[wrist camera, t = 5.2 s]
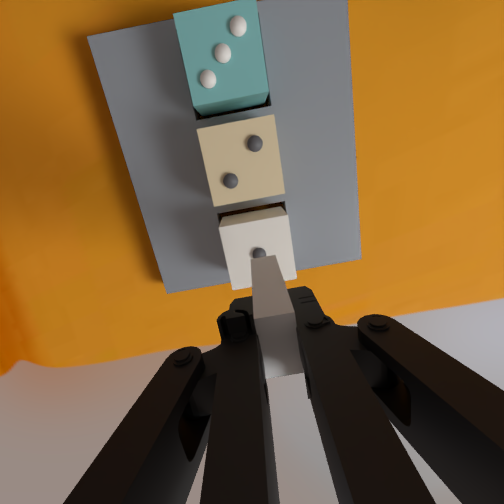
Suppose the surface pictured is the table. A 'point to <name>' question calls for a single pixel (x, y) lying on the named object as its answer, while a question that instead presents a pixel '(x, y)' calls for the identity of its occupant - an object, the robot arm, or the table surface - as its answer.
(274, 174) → the key two
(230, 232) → the key one
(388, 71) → the table surface
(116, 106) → the gray square board
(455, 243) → the table surface
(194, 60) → the key three
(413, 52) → the table surface
